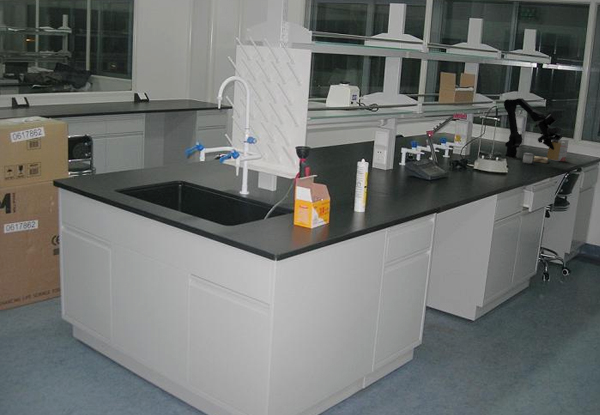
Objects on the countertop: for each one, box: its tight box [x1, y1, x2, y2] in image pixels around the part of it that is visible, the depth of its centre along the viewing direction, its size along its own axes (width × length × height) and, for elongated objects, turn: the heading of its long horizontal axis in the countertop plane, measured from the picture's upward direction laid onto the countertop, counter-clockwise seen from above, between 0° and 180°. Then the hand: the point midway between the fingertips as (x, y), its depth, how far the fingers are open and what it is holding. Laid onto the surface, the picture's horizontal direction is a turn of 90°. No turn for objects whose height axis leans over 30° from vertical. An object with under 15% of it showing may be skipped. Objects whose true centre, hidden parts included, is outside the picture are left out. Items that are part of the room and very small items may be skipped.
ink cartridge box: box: [550, 139, 569, 162], centre depth 480 cm, size 9×5×15 cm, turn 105°
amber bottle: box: [546, 140, 561, 161], centre depth 452 cm, size 5×5×12 cm
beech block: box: [532, 155, 549, 164], centre depth 470 cm, size 9×9×3 cm
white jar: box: [522, 152, 535, 164], centre depth 460 cm, size 6×6×6 cm
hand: (556, 149), depth 451 cm, fingers closed on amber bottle, 5 cm apart
